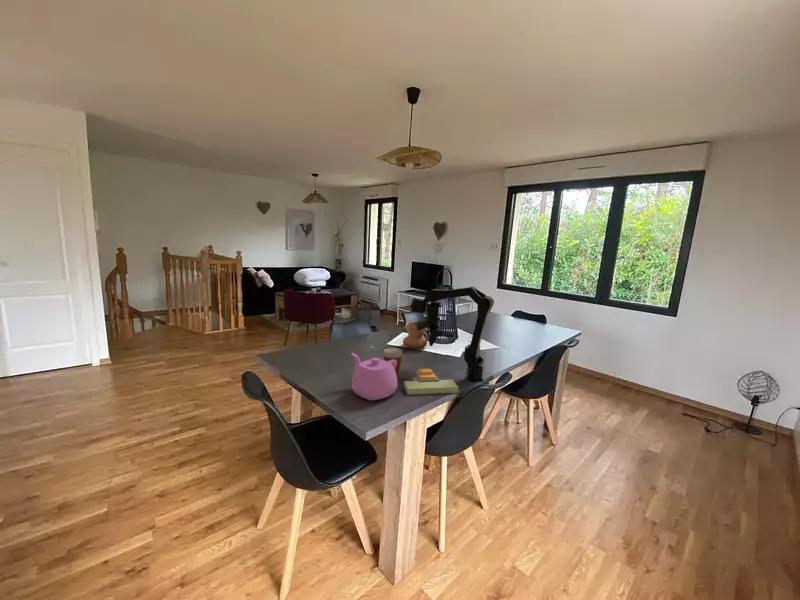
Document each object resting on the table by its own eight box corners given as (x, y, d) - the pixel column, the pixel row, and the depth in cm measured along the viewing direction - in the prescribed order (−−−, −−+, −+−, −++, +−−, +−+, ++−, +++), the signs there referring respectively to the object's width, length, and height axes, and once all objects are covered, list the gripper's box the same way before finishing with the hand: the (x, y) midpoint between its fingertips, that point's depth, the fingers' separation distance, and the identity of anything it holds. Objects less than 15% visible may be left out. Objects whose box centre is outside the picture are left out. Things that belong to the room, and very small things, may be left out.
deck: (447, 379, 167) (448, 373, 166) (458, 392, 153) (458, 385, 152) (401, 381, 162) (401, 374, 162) (407, 394, 149) (407, 387, 148)
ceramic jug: (396, 345, 216) (397, 322, 213) (412, 341, 226) (413, 319, 223) (418, 353, 203) (419, 329, 200) (434, 348, 213) (436, 325, 210)
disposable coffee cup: (384, 379, 164) (385, 354, 162) (379, 371, 173) (380, 347, 171) (404, 378, 166) (405, 353, 164) (398, 370, 175) (399, 346, 173)
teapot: (409, 391, 152) (410, 357, 150) (372, 406, 137) (374, 369, 134) (372, 375, 167) (373, 344, 165) (335, 388, 152) (336, 354, 149)
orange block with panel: (431, 378, 167) (431, 368, 166) (435, 385, 159) (436, 374, 158) (416, 379, 166) (417, 368, 165) (420, 386, 158) (421, 375, 157)
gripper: (412, 310, 182) (411, 340, 185) (421, 319, 164) (419, 352, 167) (433, 311, 184) (431, 340, 187) (444, 319, 166) (442, 351, 169)
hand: (430, 345), depth 177 cm, fingers closed
